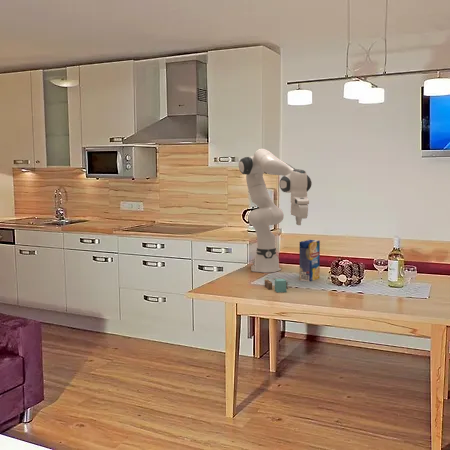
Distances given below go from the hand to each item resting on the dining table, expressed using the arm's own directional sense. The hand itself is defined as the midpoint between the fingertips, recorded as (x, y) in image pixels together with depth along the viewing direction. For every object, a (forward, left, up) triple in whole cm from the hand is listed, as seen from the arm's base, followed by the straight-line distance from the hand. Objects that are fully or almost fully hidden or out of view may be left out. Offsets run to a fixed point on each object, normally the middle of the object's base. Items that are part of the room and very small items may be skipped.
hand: (298, 225), depth 312 cm
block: (+14, -14, -33) cm, 38 cm away
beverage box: (-11, +10, -33) cm, 36 cm away
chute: (+4, -14, -33) cm, 36 cm away
